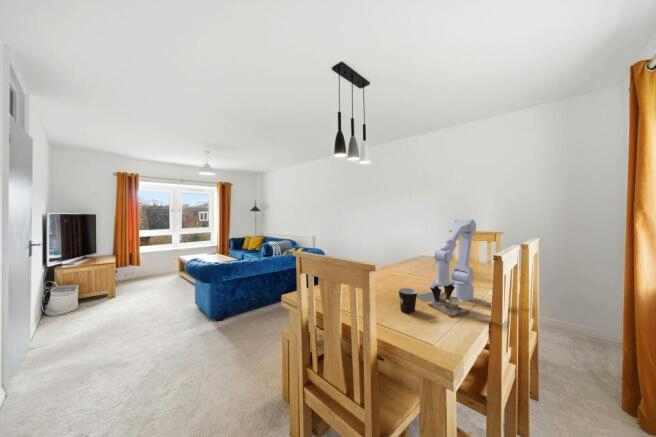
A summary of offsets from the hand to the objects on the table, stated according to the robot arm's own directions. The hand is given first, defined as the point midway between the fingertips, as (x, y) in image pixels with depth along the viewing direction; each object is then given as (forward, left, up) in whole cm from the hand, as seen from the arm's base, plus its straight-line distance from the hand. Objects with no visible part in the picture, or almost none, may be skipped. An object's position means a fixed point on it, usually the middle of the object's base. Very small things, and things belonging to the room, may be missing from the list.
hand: (442, 300), depth 124 cm
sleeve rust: (0, 0, -2) cm, 2 cm away
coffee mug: (+19, -4, -4) cm, 20 cm away
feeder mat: (-3, -12, -3) cm, 13 cm away
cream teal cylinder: (0, +7, -2) cm, 7 cm away
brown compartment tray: (0, +4, -3) cm, 5 cm away
